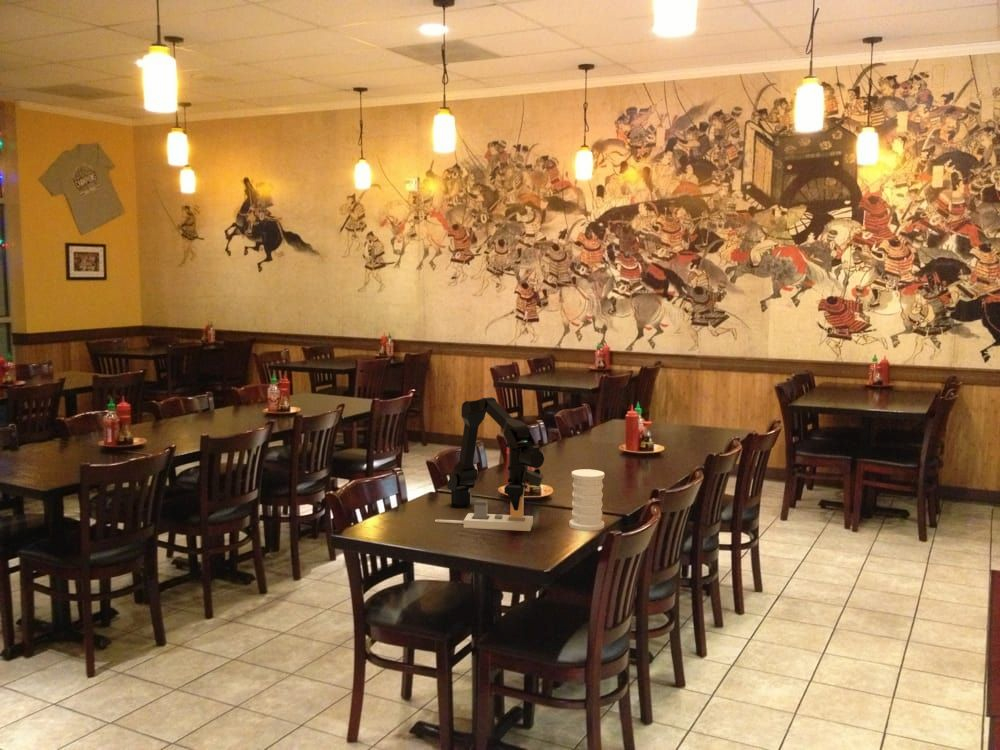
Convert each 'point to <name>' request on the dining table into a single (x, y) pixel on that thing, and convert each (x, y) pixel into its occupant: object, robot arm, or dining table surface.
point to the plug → (518, 512)
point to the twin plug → (480, 509)
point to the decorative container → (587, 500)
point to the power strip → (494, 522)
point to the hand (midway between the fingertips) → (516, 509)
